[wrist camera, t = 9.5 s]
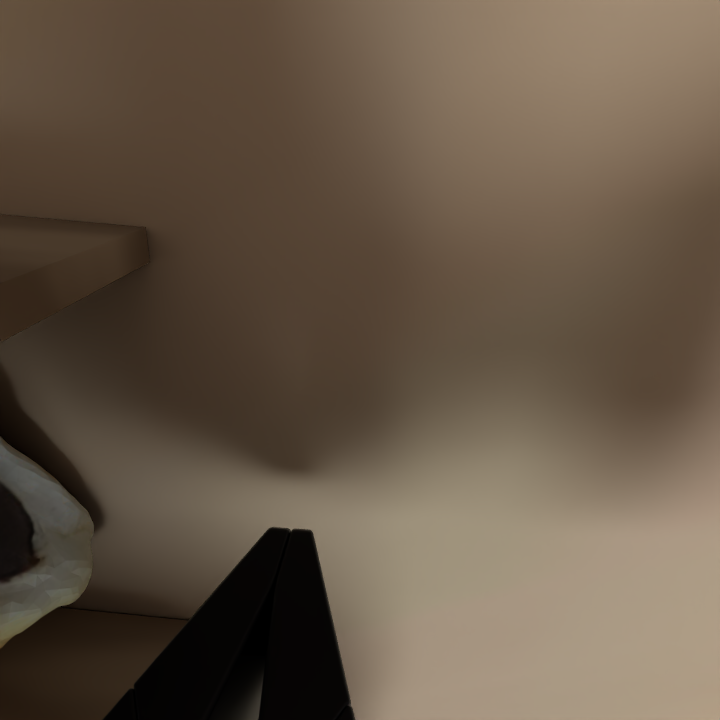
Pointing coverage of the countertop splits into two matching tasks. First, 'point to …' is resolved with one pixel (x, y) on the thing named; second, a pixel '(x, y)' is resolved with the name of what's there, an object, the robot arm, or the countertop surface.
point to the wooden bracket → (62, 625)
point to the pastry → (38, 543)
